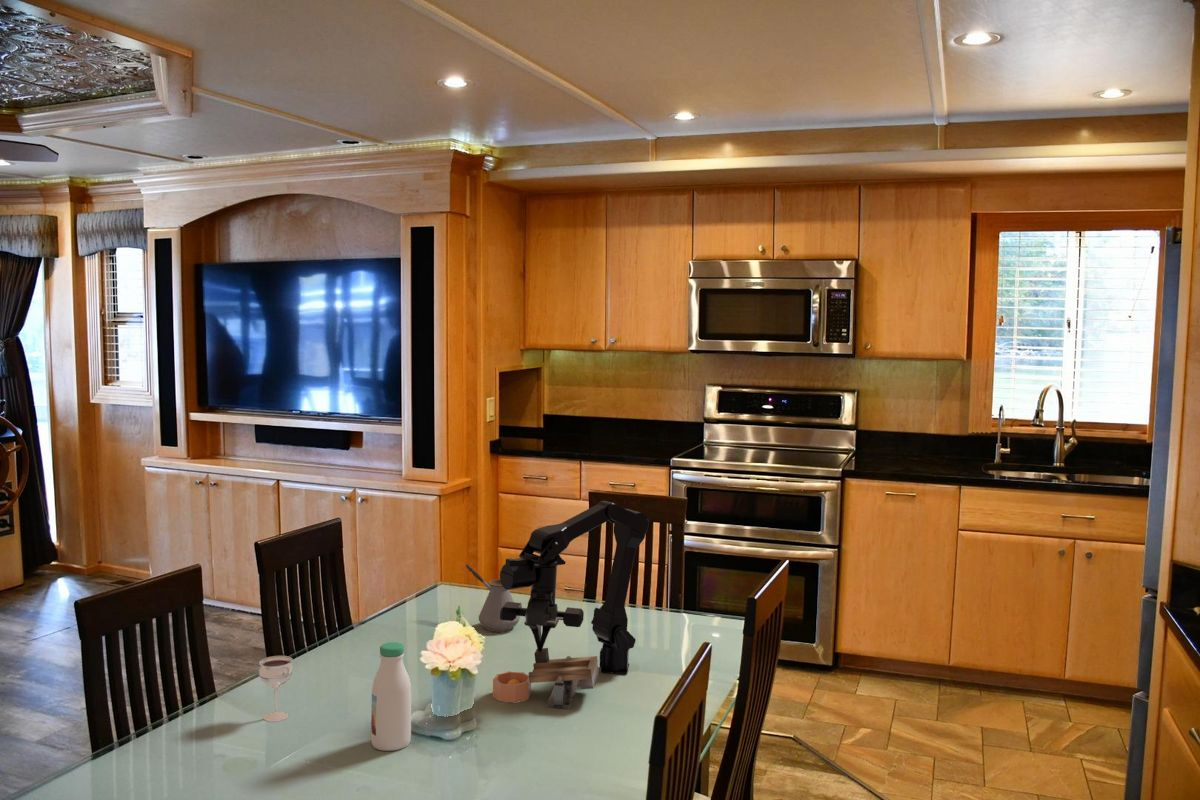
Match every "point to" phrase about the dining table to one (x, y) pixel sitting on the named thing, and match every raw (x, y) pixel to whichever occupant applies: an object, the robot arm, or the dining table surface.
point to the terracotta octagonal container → (511, 687)
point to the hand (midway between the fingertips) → (540, 650)
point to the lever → (564, 669)
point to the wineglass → (275, 679)
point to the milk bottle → (391, 701)
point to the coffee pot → (494, 605)
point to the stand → (563, 694)
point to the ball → (513, 681)
